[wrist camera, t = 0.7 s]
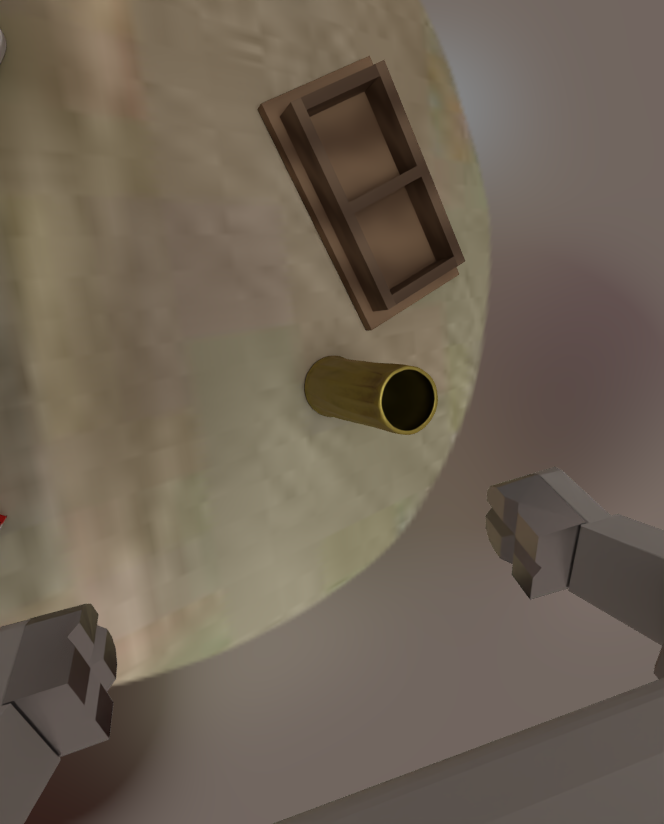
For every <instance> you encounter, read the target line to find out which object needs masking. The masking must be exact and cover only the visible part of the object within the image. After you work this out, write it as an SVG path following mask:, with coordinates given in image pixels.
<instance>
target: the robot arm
mask: <svg viewBox="0 0 664 824" xmlns="http://www.w3.org/2000/svg"><path fill="white" fill-rule="evenodd" d="M5 51H6V39H5V36H4V34H3V33H2V31H1V29H0V63H1V62H2V59H3V57H4V54H5ZM487 502H488V503H489V504H490V506H491V507H492V508H491V509H490V511H489V512H488V513H487V515H486V531H487V535H488V538H489V541H490V543H491V545H492V547H493V549H494V550H495V552H496V553H497V555H498V556H499V558H501V559H503V560H505V561H507V562H509V563H511V564H513V565H512V576H513V577H514V578H515V580H516V581H517V582H518V584H519V585H520V587H521V588H522V589H523V591H524V592H525V593H526V595H527V596H528V597H529V599H530V600H531V599H534V598H538V597H541V596H544V595H548V594H551V593H554V592H558V591H561V590H565V589H568V588H569V591H570V592H572V593H573V594H575V595H577V596H578V597H580V598H582V599H583V600H585V601H587V602H588V603H590V604H592V605H594V606H595V607H597V608H599V609H600V610H602V611H604V612H606V613H607V614H609V615H611V616H612V617H614V618H616V619H617V620H619V621H621V622H623V623H624V624H626V625H628V626H630V627H631V628H633V629H634V630H636V631H638V632H640V633H641V634H643V635H645V636H647V637H648V638H650V639H651V640H653V641H655V642H657V643H658V644H660V645H662V648H661V650H660V653H659V656H658V658H657V661H656V664H655V668H654V674H655V675H656V676H657V678H658V679H659V680H656V681H654V682H651V683H648V684H646V685H643V686H640V687H638V688H635V689H632V690H630V691H627V692H624V693H621V694H619V695H616V696H613V697H611V698H608V699H606V700H603V701H600V702H598V703H595V704H592V705H589V706H587V707H584V708H581V709H579V710H576V711H573V712H570V713H568V714H565V715H563V716H560V717H557V718H555V719H552V720H549V721H546V722H544V723H541V724H538V725H536V726H533V727H531V728H528V729H525V730H522V731H520V732H517V733H514V734H512V735H509V736H506V737H504V738H501V739H498V740H495V741H493V742H490V743H487V744H485V745H482V746H480V747H477V748H474V749H471V750H469V751H466V752H463V753H461V754H458V755H456V756H453V757H450V758H447V759H444V760H442V761H440V762H436V763H434V764H431V765H429V766H426V767H423V768H420V769H418V770H415V771H412V772H410V773H407V774H404V775H402V776H399V777H396V778H394V779H391V780H388V781H386V782H383V783H380V784H378V785H375V786H372V787H369V788H367V789H364V790H362V791H359V792H356V793H354V794H351V795H348V796H345V797H343V798H340V799H337V800H335V801H332V802H329V803H327V804H324V805H321V806H319V807H316V808H313V809H311V810H308V811H305V812H303V813H300V814H297V815H295V816H292V817H289V818H287V819H284V820H281V821H278V822H276V823H273V824H664V530H661V529H659V528H655V527H653V526H650V525H647V524H645V523H642V522H639V521H636V520H633V519H631V518H628V517H625V516H622V515H619V514H615V515H612V516H611V515H610V514H609V513H608V512H607V511H606V510H604V509H603V508H602V507H601V506H600V505H599V504H598V503H597V502H596V501H595V500H594V499H593V498H591V497H590V496H589V495H588V494H587V493H586V492H585V491H584V490H583V489H582V488H581V487H580V486H579V485H577V484H576V483H575V482H574V481H573V480H572V479H571V478H570V477H569V476H568V475H567V474H566V473H564V472H563V471H562V470H561V469H559V468H557V467H553V468H549V469H546V470H543V471H539V472H536V473H533V474H529V475H525V476H522V477H519V478H516V479H512V480H509V481H505V482H502V483H499V484H496V485H493V486H490V487H489V489H488V491H487ZM97 621H98V613H97V612H96V610H95V609H94V607H93V606H92V604H83V605H79V606H76V607H72V608H68V609H64V610H61V611H57V612H53V613H49V614H45V615H42V616H38V617H34V618H31V619H28V620H25V621H21V622H17V623H13V624H10V625H6V626H2V627H1V628H0V824H24V822H25V820H26V819H27V817H28V815H29V814H30V812H31V810H32V808H33V807H34V805H35V803H36V801H37V800H38V798H39V796H40V795H41V793H42V791H43V789H44V788H45V786H46V784H47V783H48V781H49V779H50V777H51V776H52V774H53V772H54V770H55V769H56V767H57V765H58V763H59V762H60V758H59V757H61V756H64V755H67V754H69V753H72V752H75V751H78V750H81V749H84V748H86V747H89V746H92V745H95V744H97V743H100V742H103V741H105V740H108V739H109V737H110V728H111V719H112V711H113V701H112V699H111V698H110V696H109V695H108V693H107V691H108V690H109V688H110V687H111V685H112V684H113V682H114V681H115V679H116V671H117V658H116V648H115V645H114V642H113V639H112V636H111V635H110V633H109V631H108V630H107V629H106V628H103V627H100V626H98V625H97Z"/></svg>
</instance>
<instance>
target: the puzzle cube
mask: <svg viewBox="0 0 664 824" xmlns="http://www.w3.org/2000/svg"><path fill="white" fill-rule="evenodd" d="M6 518H7V516H3V515H0V529H1V527H2V525H3V523H4V521H5V519H6Z"/></svg>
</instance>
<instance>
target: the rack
mask: <svg viewBox="0 0 664 824" xmlns="http://www.w3.org/2000/svg"><path fill="white" fill-rule="evenodd" d="M258 111H259V113H260V115H261V117H262V119H263V121H264V123H265V125H266V127H267V129H268V131H269V133H270V136H271V138H272V140H273V142H274V144H275V146H276V148H277V150H278V152H279V154H280V156H281V158H282V160H283V162H284V164H285V166H286V168H287V170H288V172H289V174H290V176H291V178H292V180H293V182H294V184H295V186H296V188H297V191H298V193H299V195H300V197H301V199H302V201H303V203H304V205H305V207H306V209H307V211H308V213H309V215H310V217H311V219H312V221H313V223H314V225H315V227H316V229H317V231H318V233H319V235H320V237H321V239H322V241H323V243H324V245H325V248H326V250H327V252H328V254H329V256H330V258H331V260H332V262H333V264H334V266H335V268H336V270H337V272H338V274H339V276H340V278H341V280H342V282H343V284H344V286H345V288H346V290H347V292H348V294H349V296H350V298H351V300H352V302H353V305H354V307H355V309H356V311H357V313H358V315H359V317H360V319H361V321H362V323H363V325H364V327H365V329H366V330H373V329H374V328H376V327H377V326H379V325H380V324H382V323H384V322H385V321H387V320H388V319H390V318H391V317H393V316H395V315H396V314H398V313H399V312H401V311H402V310H404V309H406V308H407V307H409V306H410V305H412V304H413V303H415V302H417V301H418V300H420V299H421V298H423V297H424V296H426V295H428V294H429V293H431V292H432V291H434V290H435V289H437V288H439V287H440V286H442V285H443V284H445V283H446V282H448V281H449V280H451V279H453V278H454V277H456V276H457V275H459V272H458V270H457V268H456V267H457V266H458V265H460V264H462V263H463V262H465V259H464V257H463V254H462V252H461V249H460V247H459V244H458V242H457V239H456V237H455V234H454V232H453V229H452V227H451V225H450V222H449V220H448V217H447V215H446V212H445V210H444V207H443V205H442V202H441V200H440V197H439V195H438V192H437V190H436V187H435V185H434V182H433V180H432V177H431V175H430V172H429V170H428V167H427V165H426V162H425V160H424V158H423V155H422V153H421V150H420V148H419V145H418V143H417V140H416V138H415V135H414V133H413V130H412V128H411V125H410V123H409V120H408V118H407V115H406V113H405V110H404V108H403V105H402V103H401V100H400V98H399V95H398V93H397V90H396V88H395V86H394V83H393V81H392V78H391V76H390V73H389V71H388V68H387V66H386V63H385V61H384V60H383V61H381V62H379V63H376V64H374V65H373V63H372V60H371V58H370V56H368V57H366V58H363V59H361V60H359V61H357V62H354V63H352V64H350V65H348V66H345V67H343V68H341V69H339V70H336V71H334V72H332V73H329V74H327V75H325V76H323V77H320V78H318V79H316V80H314V81H311V82H309V83H307V84H305V85H302V86H300V87H298V88H295V89H293V90H291V91H289V92H286V93H284V94H282V95H280V96H277V97H275V98H273V99H271V100H268V101H266V102H264V103H261V105H260V107H259V108H258Z"/></svg>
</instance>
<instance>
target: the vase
mask: <svg viewBox="0 0 664 824" xmlns="http://www.w3.org/2000/svg"><path fill="white" fill-rule="evenodd" d="M305 394H306V398H307V400H308V403H309V404H310V406H311V407H312V408H313V409H314V410H315V411H316V412H318V413H319V414H321V415H323V416H327V417H335V418H339V419H342V420H347V421H351V422H355V423H359V424H363V425H367V426H371V427H375V428H379V429H382V430H385V431H389V432H392V433H397V434H404V435H410V434H415V433H417V432H419V431H420V430H422V429H423V428H424V427H425V426H426V425H427V424H428V423H429V422H430V421H431V419H432V417H433V416H434V414H435V411H436V408H437V402H438V396H437V389H436V385H435V383H434V381H433V379H432V378H431V377H430V375H429V374H427V373H426V372H425V371H423V370H422V369H420V368H418V367H414V366H408V365H402V364H386V363H373V362H366V361H356V360H349V359H345V358H343V357H340V356H328V357H325V358H323V359H321V360H319V361H317V362H316V363H315V364H314V365H313V366H312V368H311V369H310V371H309V372H308V374H307V377H306V381H305Z"/></svg>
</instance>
